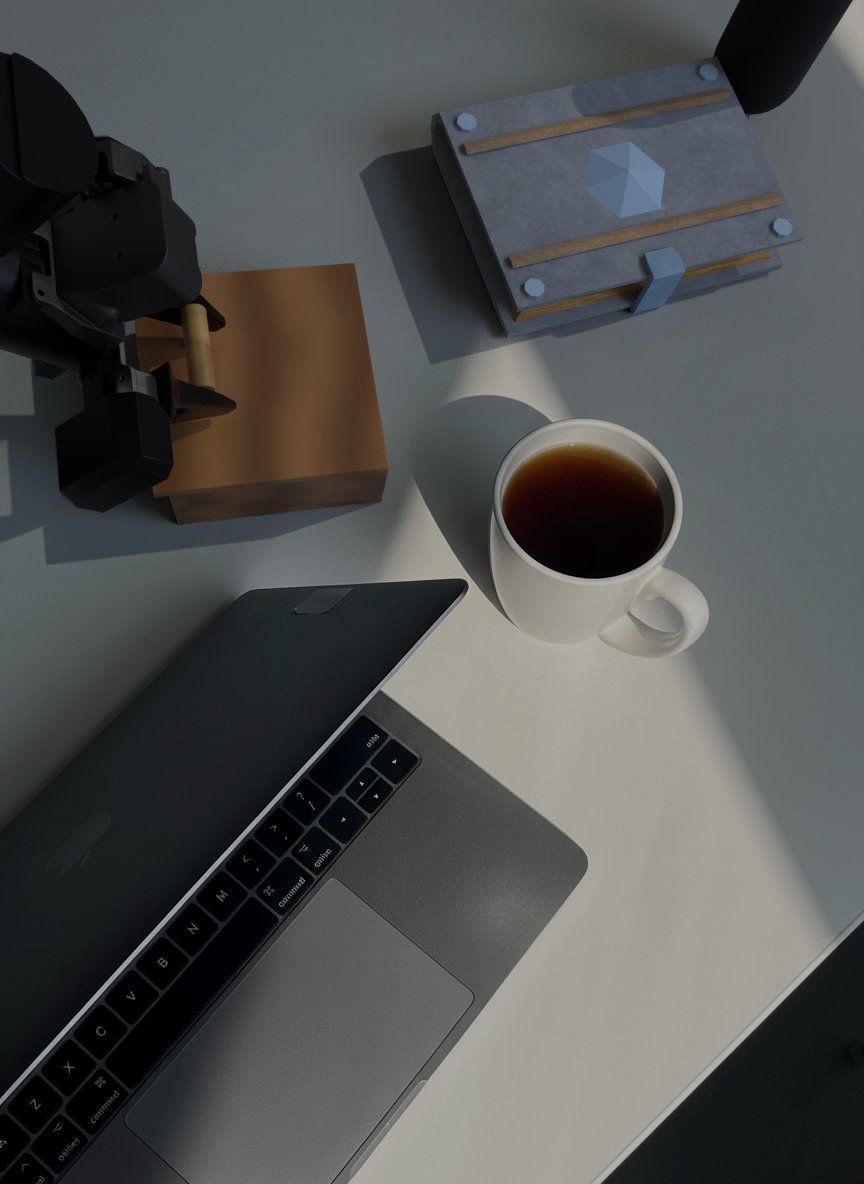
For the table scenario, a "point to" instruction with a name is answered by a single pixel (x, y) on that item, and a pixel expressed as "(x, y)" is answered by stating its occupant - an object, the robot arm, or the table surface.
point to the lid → (272, 381)
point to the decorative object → (774, 47)
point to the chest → (278, 498)
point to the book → (612, 194)
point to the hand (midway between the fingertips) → (226, 367)
